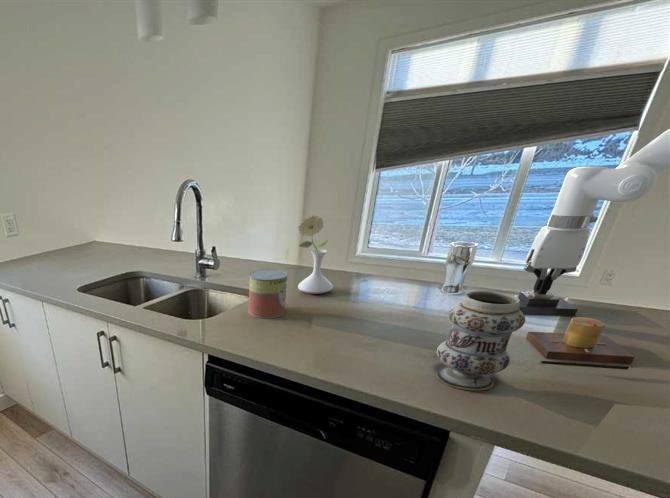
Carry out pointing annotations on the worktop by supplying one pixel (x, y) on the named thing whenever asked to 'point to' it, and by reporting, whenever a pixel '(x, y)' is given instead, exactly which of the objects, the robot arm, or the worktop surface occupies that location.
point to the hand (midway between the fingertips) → (539, 292)
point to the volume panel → (579, 351)
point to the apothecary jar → (479, 339)
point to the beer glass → (458, 266)
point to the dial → (583, 332)
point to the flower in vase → (316, 280)
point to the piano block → (545, 306)
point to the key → (539, 295)
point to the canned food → (267, 293)
